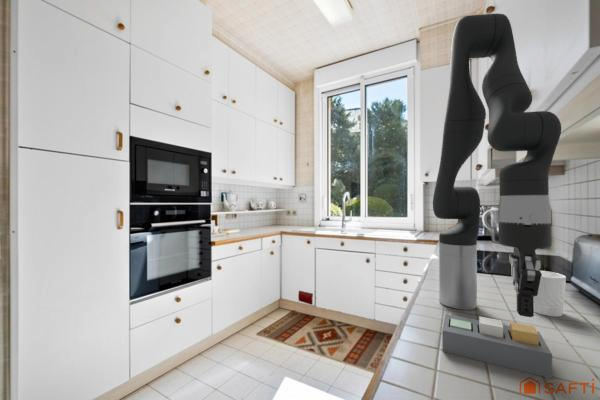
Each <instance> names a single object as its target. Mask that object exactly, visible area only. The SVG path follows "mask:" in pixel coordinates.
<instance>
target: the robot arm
mask: <svg viewBox="0 0 600 400" xmlns="http://www.w3.org/2000/svg"><path fill="white" fill-rule="evenodd" d="M515 43H516V42H515V39H514V33H513V28H512V24H511V22H510V19H509V17H508V16H507V15H506V14H504V13H484V14H471V15H464V16H462V17H461V18H459V19H458V21H457V22H456V25H455V27H454V30H453V34H452V39H451V47H450V48H451V50H450V67H449V70H450V71H449V86H448V87H449V88H448V96H447V103H446V110H445V117H444V123H443V124H444V125H443V132H442V144H441V145H442V146H441V153H440V154H441V155H440V162H439V168H438V173H437V176H436V177H437V178H436V181H435V186H434V192H433V196H432V211H433V213H434V216H435V217H436V218H437V219H439V220H440V219H441V220H457V222H456V224H455V225H454V226H453V227H451V228H449V229H445V230H443V231H441V232H440V233H439V235H438V237H439V238H438V242H439V243H438V245H439V246H438V249H439V250H438V254H439V255H438V256H439V257H438V258H439V260H438V262H439V263H438V267H439V268H438V270H439V271H438V272H439V274H438V276H439V277H438V279H439V282H438V285H439V286H438V297H439V298H438V301H439V303H441V305H443V306H446V307H448V308H452V309H456V310H457V309H458V310H466V311H469V310H470V311H471V310H476V309H477V308H478V305H477V304H478V302H477V301H478V299H477V298H478V269H477V268H478V265H477V263H478V259H477V258H478V254H477V253H478V252H477V251H478V250H477V249H478V247H477V246H478V245H477V241H478V237H479V231H480V216H481V199H480V194H479V192H478V191H477V189H476V188H474V187H472V186H455V183H456V179H457V176H458V174H459V171H460V170H461V169H462V166H463V165H464V164H465V163H466V161H467V160H468V159H469V158H470V157H471V156H472V154H473V153H474V152H475V150H476V149H477V148H478V146H479V145H480V143H481V142H482V139H483V136H484V131H485V124H486V118H487V112H486V108H485V105H484V102H483V101H482V99H481V97H480V95H479V93H478V91H477V90H476V88H475V85H474V83H473V81H472V78H471V77H472V76H471V71H470V59H484V58H490V59H491V61H492V64H491V65H490V67H488V70H487V71H486V73H485V74H484V77H483V79H482V84H481V90H482V95H483V97H484V98H483V99H484V100H485V103H486V106H487V108H488V127H487V136H486V137H487V142H488V144H489V145H490V147H492V148H493V149H494V150H496V151H498V152H526V155H525V158H524V159H523V161H521V162H516V163H512V164H508V165H504V166H503V167H502V168H501V169H500V171H499V178H498V179H499V202H498V207H497V208H498V210H497V211H498V215H497V216H498V219H497V220H498V222H497V223H498V243H499V244H500V245H501V246H505V247H510V248H513V254H509V263H510V267H511V268H510V269H511V271H510V273H511V278H512V280H513V281H512V285H513V286H514V292H515V294H516V295H515V296H516V312H517V314H518V315H519V316H522V317H527V318H533V317H534V315H535V314H534V313H535V312H534V307H533V297H535V296H537V294H538V289H539V284H540V279H541V276H542V273H541V272H540V271H541V270H540V269H541V268H542V267H541V266H542V265H541V259H540V258H538V257H537V253H536V250H538V249H540V250H541V249H542V250H544V249H550V248H551V247H552V240H553V239H552V208H551V207H552V206H551V202H550V195H549V194H550V193H549V189H550V188H549V173H550V170H551V166H552V163H553V158H554V155H555V152H556V149H557V146H558V143H559V141H560V139H561V134H562V123H561V121H560V119H559V117H558V116H557V115H556V114H555V113H553V112H551V111H548V110H546V111H545V110H543V111H542V110H541V111H537V110H536V111H527V110H528V109H529V108H530V107H531V105H532V102H533V95H532V92H531V89H530V88H529V85H528V84H527V82H526V79H525V78H524V75H523V73H522V71H521V69H520V66H519V63H518V58H517V57H518V56H517V51H516V45H515ZM539 270H540V271H539Z"/></svg>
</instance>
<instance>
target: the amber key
mask: <svg viewBox="0 0 600 400" xmlns="http://www.w3.org/2000/svg"><path fill="white" fill-rule="evenodd" d="M509 326H510V334H511V337H512V340H515V341H519V342H524V343H529V344H534V345H539V334H538V332H539V331H538V330H537V329H536V327H535V326H534V325H527V324H522V323H517V322H513V321H510V322H509ZM537 331H538V332H537Z"/></svg>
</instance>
